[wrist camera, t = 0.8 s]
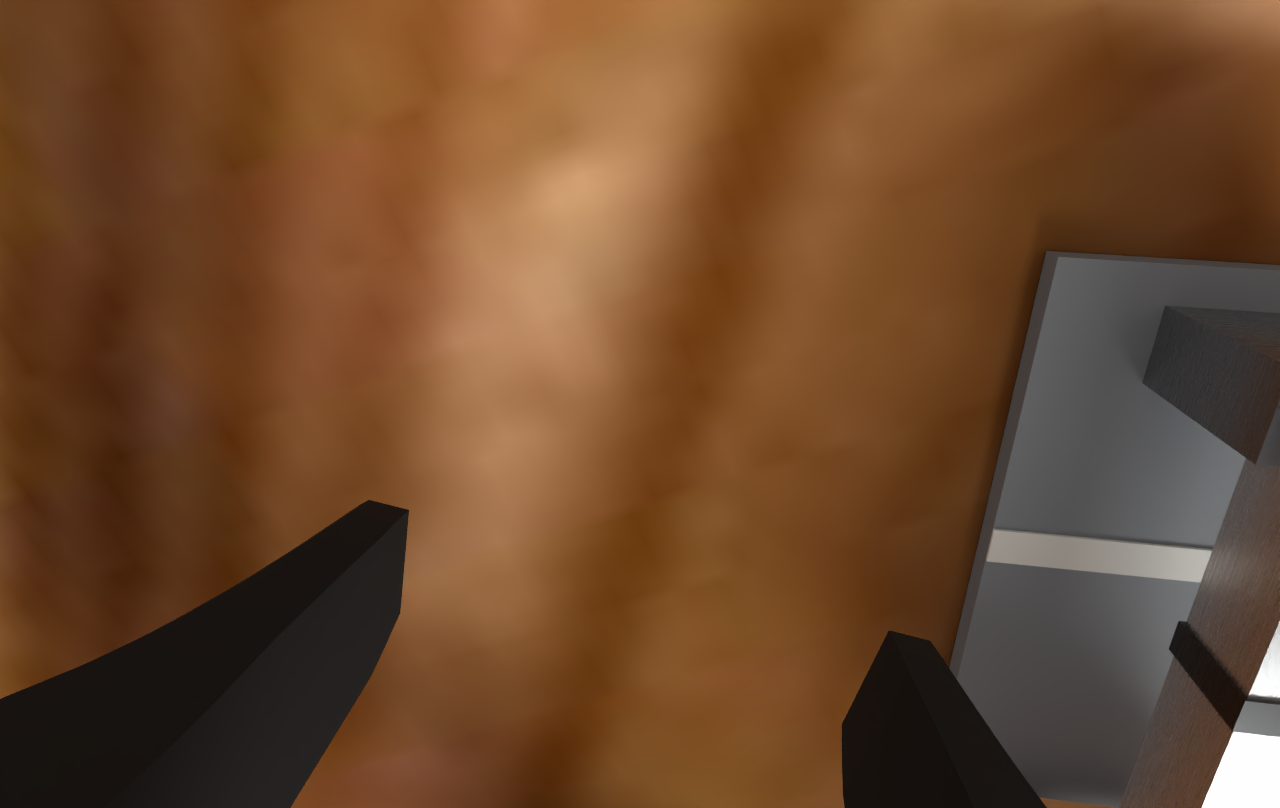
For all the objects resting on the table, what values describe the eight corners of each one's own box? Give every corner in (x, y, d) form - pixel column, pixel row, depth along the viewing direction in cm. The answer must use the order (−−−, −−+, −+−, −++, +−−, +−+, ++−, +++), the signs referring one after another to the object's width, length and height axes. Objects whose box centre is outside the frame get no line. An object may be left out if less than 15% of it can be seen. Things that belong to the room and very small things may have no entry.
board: (1154, 949, 27) (1166, 975, 27) (892, 911, 28) (896, 935, 28) (1440, 274, 19) (1473, 283, 18) (1046, 250, 19) (1059, 257, 19)
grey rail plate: (1090, 941, 27) (1181, 1162, 21) (980, 925, 27) (1042, 1139, 21) (1326, 316, 18) (1575, 410, 13) (1165, 305, 19) (1341, 392, 13)
